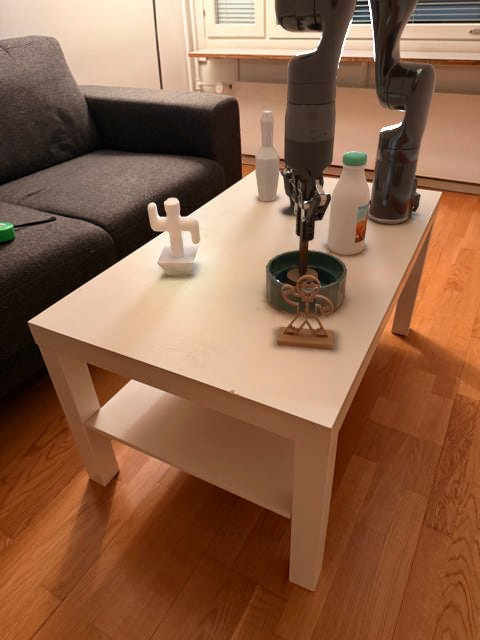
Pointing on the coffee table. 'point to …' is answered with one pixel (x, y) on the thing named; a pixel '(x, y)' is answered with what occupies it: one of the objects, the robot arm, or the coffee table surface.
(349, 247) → the milk bottle
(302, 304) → the bowl
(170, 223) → the figurine
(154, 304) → the coffee table surface
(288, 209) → the sundae
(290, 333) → the gingerbread man figurine
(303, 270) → the wooden peg stand
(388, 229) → the coffee table surface
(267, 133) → the low poly bottle
